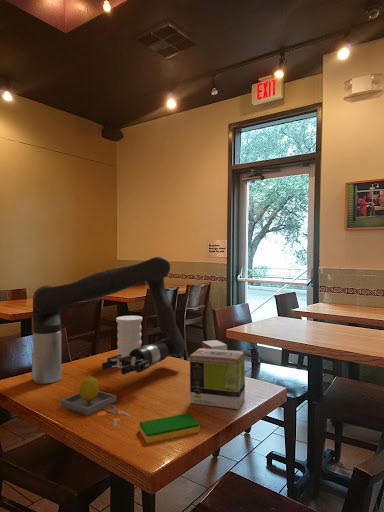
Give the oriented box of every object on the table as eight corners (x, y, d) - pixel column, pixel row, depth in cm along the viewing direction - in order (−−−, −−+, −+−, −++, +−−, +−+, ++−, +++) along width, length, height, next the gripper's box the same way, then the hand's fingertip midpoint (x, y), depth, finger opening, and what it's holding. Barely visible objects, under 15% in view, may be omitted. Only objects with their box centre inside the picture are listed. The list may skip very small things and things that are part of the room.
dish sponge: (139, 431, 92) (139, 421, 92) (188, 421, 98) (188, 412, 98) (147, 444, 86) (147, 434, 86) (200, 433, 92) (200, 423, 92)
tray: (60, 407, 106) (60, 400, 106) (90, 394, 116) (90, 388, 116) (87, 416, 100) (87, 408, 100) (116, 402, 110) (116, 395, 110)
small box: (201, 377, 132) (201, 341, 132) (217, 374, 135) (217, 339, 135) (211, 384, 125) (211, 346, 125) (227, 381, 127) (227, 344, 127)
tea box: (245, 397, 113) (245, 350, 113) (238, 411, 104) (238, 359, 104) (199, 391, 118) (199, 346, 118) (189, 403, 109) (189, 354, 109)
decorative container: (111, 364, 148) (111, 319, 148) (121, 356, 159) (121, 315, 159) (138, 365, 146) (138, 320, 146) (146, 357, 157) (146, 315, 157)
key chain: (91, 412, 104) (91, 409, 104) (114, 405, 108) (114, 402, 108) (113, 428, 94) (113, 425, 94) (137, 420, 99) (137, 417, 99)
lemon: (101, 399, 111) (101, 373, 111) (94, 406, 105) (94, 379, 105) (83, 398, 111) (83, 372, 111) (76, 406, 106) (76, 378, 106)
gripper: (129, 343, 133) (96, 354, 120) (160, 349, 126) (129, 360, 112) (129, 364, 134) (96, 376, 120) (160, 370, 126) (129, 385, 112)
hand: (112, 369), depth 116 cm, fingers open, 8 cm apart
